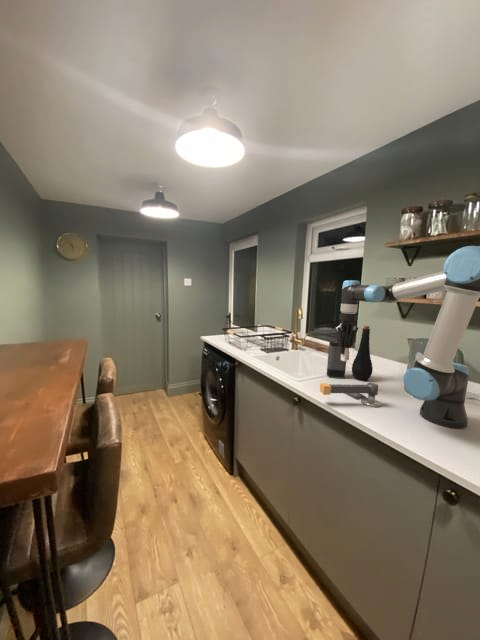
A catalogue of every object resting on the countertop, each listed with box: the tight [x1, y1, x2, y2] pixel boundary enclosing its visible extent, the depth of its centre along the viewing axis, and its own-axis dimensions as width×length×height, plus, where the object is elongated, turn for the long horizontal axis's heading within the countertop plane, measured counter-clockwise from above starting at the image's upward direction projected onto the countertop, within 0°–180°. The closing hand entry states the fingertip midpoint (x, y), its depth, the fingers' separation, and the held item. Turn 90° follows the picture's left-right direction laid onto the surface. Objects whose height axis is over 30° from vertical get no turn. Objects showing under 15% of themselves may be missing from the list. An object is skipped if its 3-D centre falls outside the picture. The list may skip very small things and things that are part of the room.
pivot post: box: [360, 394, 382, 408], centre depth 119 cm, size 8×8×4 cm
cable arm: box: [319, 382, 379, 396], centre depth 118 cm, size 25×4×4 cm, turn 97°
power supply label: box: [344, 393, 368, 400], centre depth 128 cm, size 8×6×1 cm
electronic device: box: [326, 340, 347, 380], centre depth 154 cm, size 9×6×20 cm, turn 84°
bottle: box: [351, 325, 374, 382], centre depth 152 cm, size 11×11×30 cm
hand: (343, 360), depth 134 cm, fingers closed
